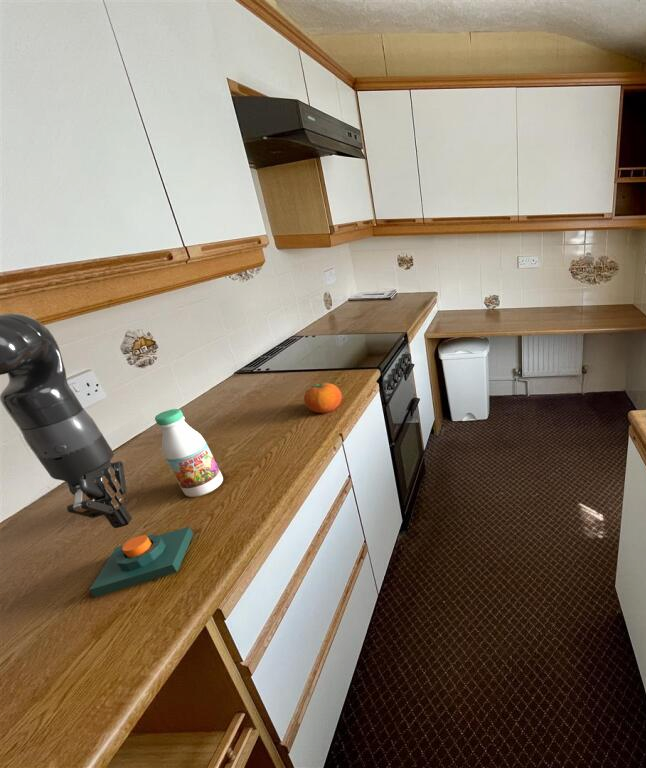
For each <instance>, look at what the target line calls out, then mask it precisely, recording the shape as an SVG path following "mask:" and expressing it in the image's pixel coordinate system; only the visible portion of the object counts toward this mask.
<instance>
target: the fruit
mask: <svg viewBox="0 0 646 768" xmlns="http://www.w3.org/2000/svg"><path fill="white" fill-rule="evenodd" d="M342 399H343V395H342V392H341V390H340V388H339V387H338V386H337V385H335V384H333V383H331V382H324V383H317V384H314V385H312V386H310V387H309V388H308V390H307V389H306V392H305V393H304V395H303V400H304V404H305V406H306V407H307V409H308V410H309V411H311V412H313V413H317V414H327V413H330V412H332V411H334V410H335V409H337V408H338V407H339V406H340V404H341V402H342Z"/></svg>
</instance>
